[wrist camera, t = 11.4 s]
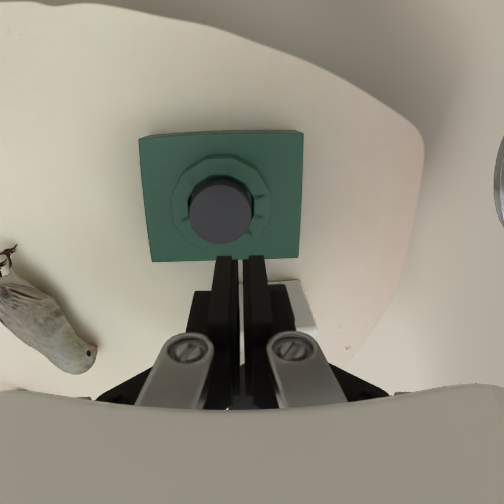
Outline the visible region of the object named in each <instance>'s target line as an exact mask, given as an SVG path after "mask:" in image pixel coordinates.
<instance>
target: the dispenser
mask: <svg viewBox="0 0 504 504" xmlns="http://www.w3.org/2000/svg"><path fill="white" fill-rule="evenodd" d="M303 135H304V134H303V133H301V132H298V131H295V130H227V131H202V132H185V133H172V134H160V135H149V136H146V137H143V138H140V139H139V154H140V166H141V178H142V188H143V198H144V207H145V215H146V223H147V231H148V238H149V245H150V252H151V259H152V262H173V261H209V260H216V257H217V256H232V260H233V259H238V260H243V259H249V255H264V259H276V258H298V256H299V239H300V220H301V198H302V172H303ZM219 178H224V179H229V180H232V181H234V182H236V183H238V184H239V185H240V186H241V187H242V188H243V189H244V190H245V191H246V193H247V195H248V198H249V202H250V207H251V221H250V224H249V227H248V229H247V230H246V232H245V233H244V234H243V235H242V236H241V237H240V238H238V239H237V240H235V241H233V242H230V243H225V244H216V243H211V242H208V241H206V240H204V239H202V238H201V237H200V236H199V235H198V234H197V233H196V232H195V231H194V229H193V228H192V226H191V223H190V219H189V209H190V205H191V203H192V200H193V198H194V196H195V193H196V192H197V190H198V189H199V188H200V187H201V186H202V185H203V184H204V183H206V182H208V181H210V180H213V179H219Z"/></svg>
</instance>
